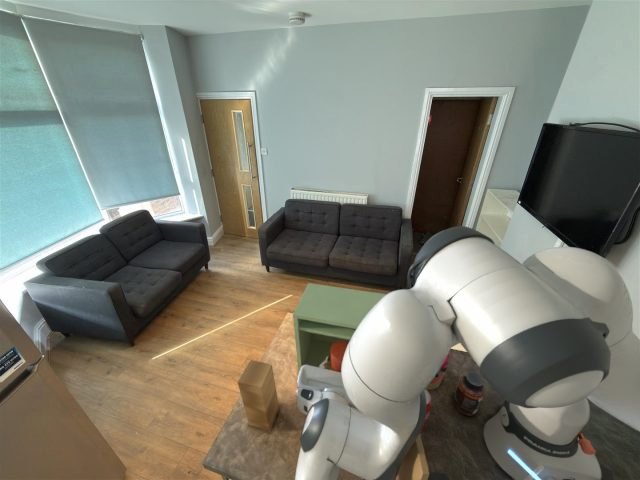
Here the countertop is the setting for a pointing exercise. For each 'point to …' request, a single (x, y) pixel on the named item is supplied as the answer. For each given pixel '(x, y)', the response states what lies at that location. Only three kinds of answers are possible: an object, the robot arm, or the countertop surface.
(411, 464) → the cupboard door
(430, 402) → the beverage can
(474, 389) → the supplement bottle
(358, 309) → the cupboard
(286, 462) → the countertop surface
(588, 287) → the robot arm
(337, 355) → the red tall cylinder
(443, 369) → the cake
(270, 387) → the plinth
